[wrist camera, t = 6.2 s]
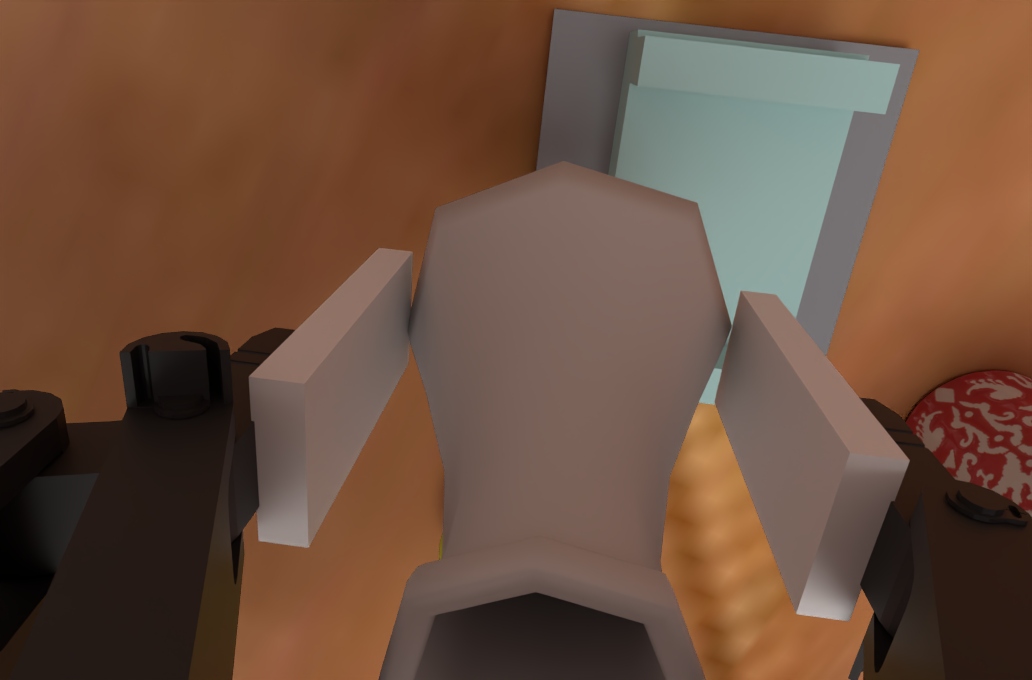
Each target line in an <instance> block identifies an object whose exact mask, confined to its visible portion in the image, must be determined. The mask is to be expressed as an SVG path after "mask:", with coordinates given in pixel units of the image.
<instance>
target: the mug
mask: <svg viewBox="0 0 1032 680" xmlns="http://www.w3.org/2000/svg"><path fill="white" fill-rule="evenodd" d="M906 424H907V425H908V426H909V427H910V428H911V429H912V431H913V434H914V435H917V436H918V437H919V439H920V440H921V441H922V442H923V443H924V444H925V448H928V449H929V450H930V451H931V452H932V453H933V455H934V456H935V457H936V458H937V459H938V460H939V461H940V463H941V464H942V465H943V466H944V467H945V468H946V469H947V470H948V472H949V473H950V474H951V475H952V476H953V477H954V478H955V480H960V481H965V482H970V483H973V484H976V485H979V486H982V487H984V488H987V489H990V490H993V491H995V492H997V493H998V494H1000V495H1002V496H1004V497H1006V498H1008V499H1010V500H1012V501H1013V502H1015V503H1016V504H1017V505H1019V506H1020V507H1021V508H1023V509H1024V510H1025V511H1026V512H1028V513H1029V514H1030V516H1031V517H1032V379H1031V378H1029V377H1026V376H1023V375H1021V374H1017V373H1013V372H1008V371H998V370H992V371H983V372H974V373H971V374H967V375H964V376H961V377H958V378H956V379H954V380H952V381H949V382H947V383H946V384H944V385H942V386H940V387H938V388H937V389H935V390H934V391H933V392H931V393H930V394H929V395H928V396H926V397H925V398H924V399H923V400H922V401H921V402H920V403H919V404H918V405H917V406H916V407H915V409H914V410H913V411H912V413H911V414H910V416H909V418H908V419H907V421H906Z"/></svg>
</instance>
